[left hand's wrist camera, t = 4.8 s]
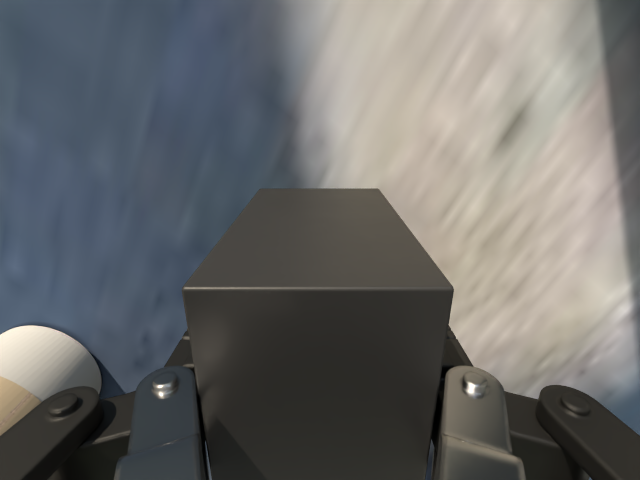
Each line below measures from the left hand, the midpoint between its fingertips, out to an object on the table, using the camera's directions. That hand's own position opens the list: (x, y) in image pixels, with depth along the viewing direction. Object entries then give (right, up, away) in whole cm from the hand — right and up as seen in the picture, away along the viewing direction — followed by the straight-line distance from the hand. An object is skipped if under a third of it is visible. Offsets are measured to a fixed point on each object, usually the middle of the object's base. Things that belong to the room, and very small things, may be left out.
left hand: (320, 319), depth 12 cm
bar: (0, -7, +8) cm, 11 cm away
